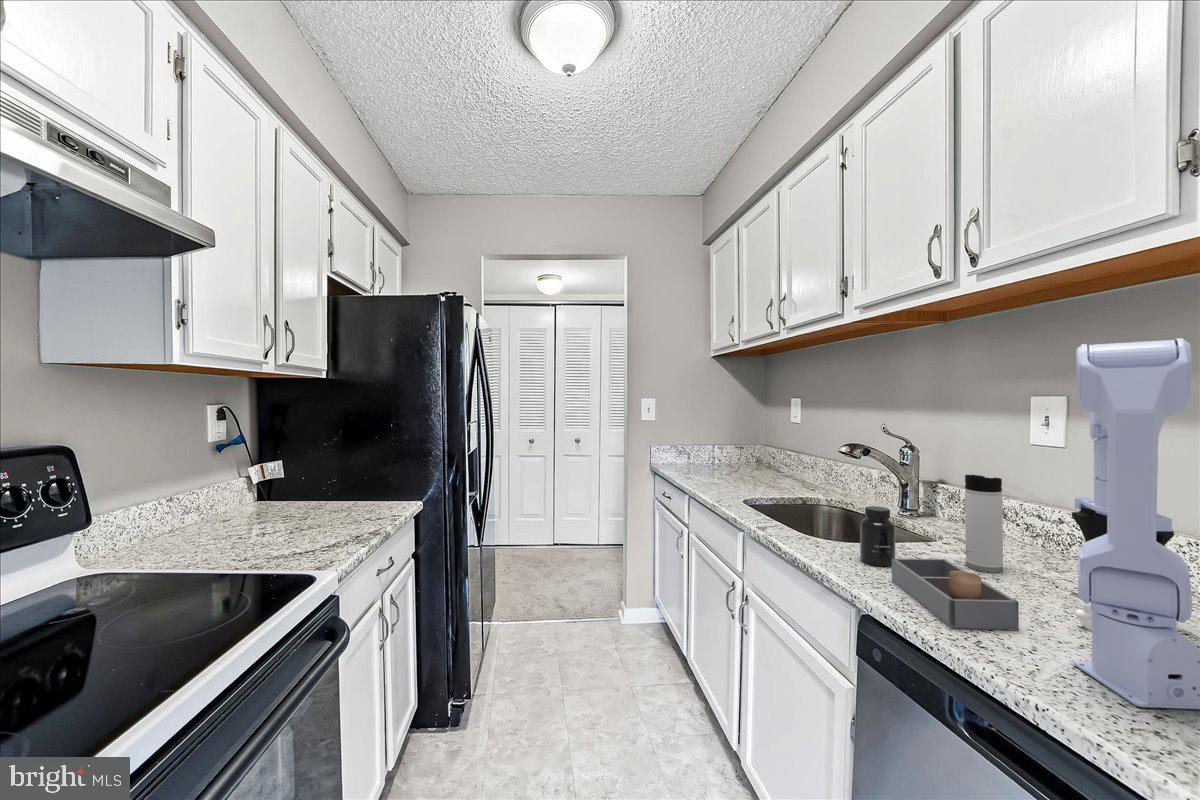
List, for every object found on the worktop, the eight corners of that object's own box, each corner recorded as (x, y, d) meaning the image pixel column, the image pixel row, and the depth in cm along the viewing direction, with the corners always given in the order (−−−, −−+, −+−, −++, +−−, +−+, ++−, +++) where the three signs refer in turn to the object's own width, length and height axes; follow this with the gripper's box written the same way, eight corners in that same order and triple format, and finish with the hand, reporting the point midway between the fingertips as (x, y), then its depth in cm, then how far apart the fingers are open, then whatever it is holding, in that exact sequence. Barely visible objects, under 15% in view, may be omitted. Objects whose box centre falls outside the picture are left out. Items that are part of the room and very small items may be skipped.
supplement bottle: (881, 569, 106) (880, 513, 106) (853, 559, 112) (852, 507, 112) (902, 564, 109) (902, 509, 108) (874, 555, 115) (873, 503, 115)
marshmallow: (1116, 629, 78) (1113, 601, 78) (1122, 633, 77) (1118, 605, 77) (1075, 627, 80) (1072, 599, 80) (1080, 631, 79) (1077, 603, 79)
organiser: (1018, 630, 79) (1018, 601, 79) (951, 628, 80) (950, 600, 80) (945, 581, 99) (944, 559, 98) (891, 580, 100) (891, 558, 100)
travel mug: (959, 566, 106) (957, 473, 106) (974, 560, 110) (973, 470, 109) (993, 575, 101) (992, 477, 100) (1008, 569, 104) (1007, 474, 104)
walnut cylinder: (986, 617, 82) (987, 581, 82) (957, 615, 82) (957, 579, 82) (971, 605, 86) (971, 571, 86) (943, 603, 87) (943, 569, 87)
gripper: (1195, 488, 73) (1195, 580, 73) (1105, 472, 87) (1105, 549, 87) (1141, 488, 73) (1142, 580, 74) (1061, 472, 88) (1062, 548, 88)
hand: (1119, 563), depth 81 cm, fingers open, 7 cm apart
